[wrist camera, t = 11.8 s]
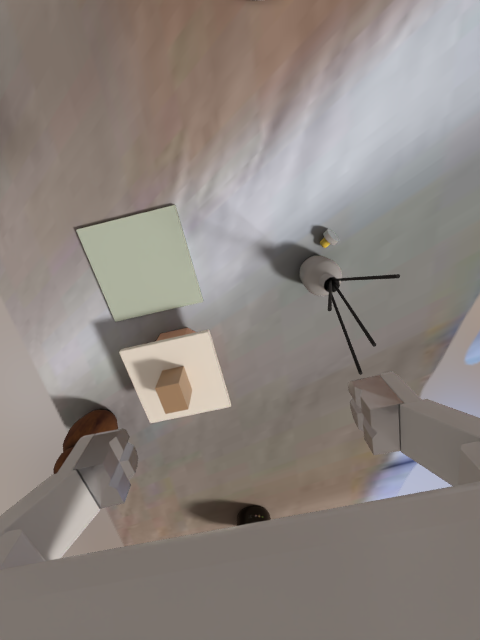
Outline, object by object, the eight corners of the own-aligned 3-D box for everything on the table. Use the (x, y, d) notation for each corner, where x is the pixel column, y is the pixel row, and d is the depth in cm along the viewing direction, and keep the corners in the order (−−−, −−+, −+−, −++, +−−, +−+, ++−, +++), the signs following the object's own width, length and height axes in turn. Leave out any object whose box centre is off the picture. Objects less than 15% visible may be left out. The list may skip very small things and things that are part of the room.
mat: (78, 229, 37) (75, 229, 37) (175, 204, 36) (174, 204, 36) (116, 320, 42) (115, 321, 41) (203, 300, 41) (202, 301, 41)
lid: (121, 349, 38) (106, 368, 34) (209, 329, 37) (205, 346, 33) (151, 419, 43) (142, 444, 38) (230, 403, 42) (230, 426, 37)
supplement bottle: (265, 529, 60) (272, 603, 49) (233, 524, 59) (233, 598, 48) (274, 506, 58) (285, 579, 47) (241, 502, 57) (244, 574, 46)
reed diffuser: (322, 303, 42) (395, 383, 23) (276, 296, 41) (313, 371, 23) (344, 231, 38) (450, 257, 20) (293, 222, 38) (354, 239, 19)
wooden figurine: (114, 399, 47) (65, 481, 33) (128, 426, 49) (88, 514, 35) (76, 409, 48) (12, 494, 34) (92, 435, 50) (37, 525, 36)
